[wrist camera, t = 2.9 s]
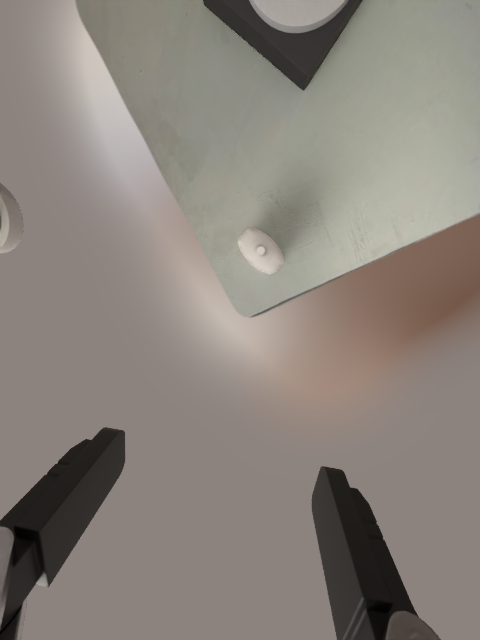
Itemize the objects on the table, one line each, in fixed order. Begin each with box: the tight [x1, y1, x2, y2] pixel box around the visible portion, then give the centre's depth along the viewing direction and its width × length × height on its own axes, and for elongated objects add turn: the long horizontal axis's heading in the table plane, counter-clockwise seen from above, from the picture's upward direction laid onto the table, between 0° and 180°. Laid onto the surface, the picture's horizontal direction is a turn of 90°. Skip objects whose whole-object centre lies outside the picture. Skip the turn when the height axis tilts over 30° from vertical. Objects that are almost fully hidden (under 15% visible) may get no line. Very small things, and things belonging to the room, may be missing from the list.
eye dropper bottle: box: [238, 227, 284, 275], centre depth 26 cm, size 4×6×12 cm
